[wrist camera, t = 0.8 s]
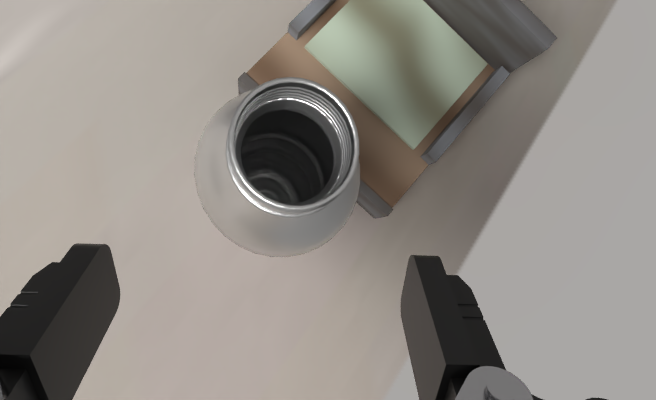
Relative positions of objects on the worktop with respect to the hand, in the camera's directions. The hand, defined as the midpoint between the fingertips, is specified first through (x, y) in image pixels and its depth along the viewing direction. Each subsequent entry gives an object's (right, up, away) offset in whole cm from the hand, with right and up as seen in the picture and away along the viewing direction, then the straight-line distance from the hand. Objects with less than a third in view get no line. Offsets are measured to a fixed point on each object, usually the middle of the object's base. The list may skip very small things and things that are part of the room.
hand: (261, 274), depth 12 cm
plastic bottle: (-3, +2, +20) cm, 20 cm away
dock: (+5, +10, +22) cm, 24 cm away
